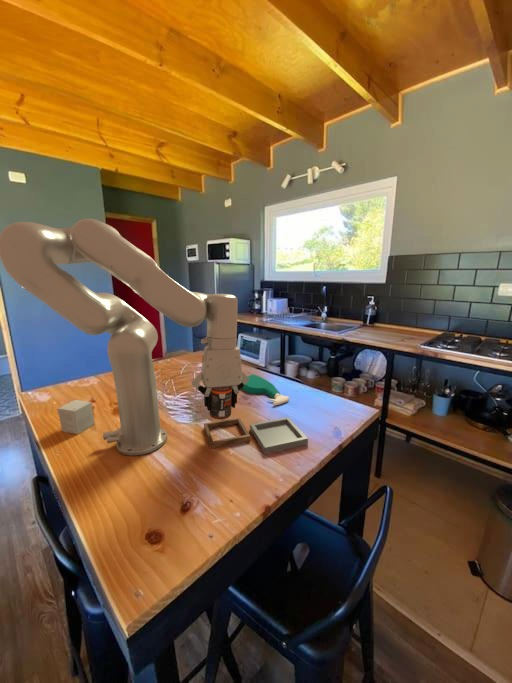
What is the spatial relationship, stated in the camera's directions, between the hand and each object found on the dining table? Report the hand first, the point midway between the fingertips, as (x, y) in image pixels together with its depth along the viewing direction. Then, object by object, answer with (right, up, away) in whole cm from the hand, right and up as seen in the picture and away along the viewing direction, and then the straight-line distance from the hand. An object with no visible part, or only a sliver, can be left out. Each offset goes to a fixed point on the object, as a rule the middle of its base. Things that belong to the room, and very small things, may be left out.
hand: (220, 406), depth 79 cm
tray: (+16, -9, +1) cm, 18 cm away
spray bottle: (+12, -2, +30) cm, 33 cm away
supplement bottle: (0, -3, +1) cm, 3 cm away
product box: (-42, -8, +6) cm, 44 cm away
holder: (+1, -8, +2) cm, 9 cm away
